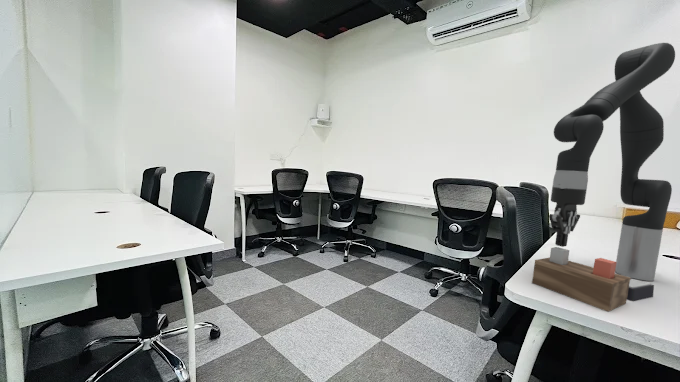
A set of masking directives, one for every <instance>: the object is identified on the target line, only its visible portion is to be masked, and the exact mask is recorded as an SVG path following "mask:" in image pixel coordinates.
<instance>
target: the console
mask: <svg viewBox="0 0 680 382" xmlns="http://www.w3.org/2000/svg"><path fill="white" fill-rule="evenodd" d="M549 260H550V256H549V257H544V258H539V259H534V266H533V273H532V280H531V283H532V284H535V285H537V286H540V287H542V288H545V289H548V290H550V291H553V292H556V293H558V294H561V295H563V296H566V297H569V298H571V299H574V300H577V301H579V302H582V303H584V304H587V305H590V306H593V307H595V308H598V309H601V310H603V311H606V312H610V311H614V310H615V309H617V308H619V307H621V306H623V305H626V304H627V295H628V289H629V283H630V278H629V277H627V276H624V275H623V276H622V275H621V274H619V275H618V273H615V275H614V278H612V279H608V278H604V277H601V276H598V275H594V274H593V269H594V266H591V265H590V266H589V265H585V264H582V263H578V262H575V261H571V260H568V264H566V265H560V264H557V263H554V262H550V261H549Z"/></svg>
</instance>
